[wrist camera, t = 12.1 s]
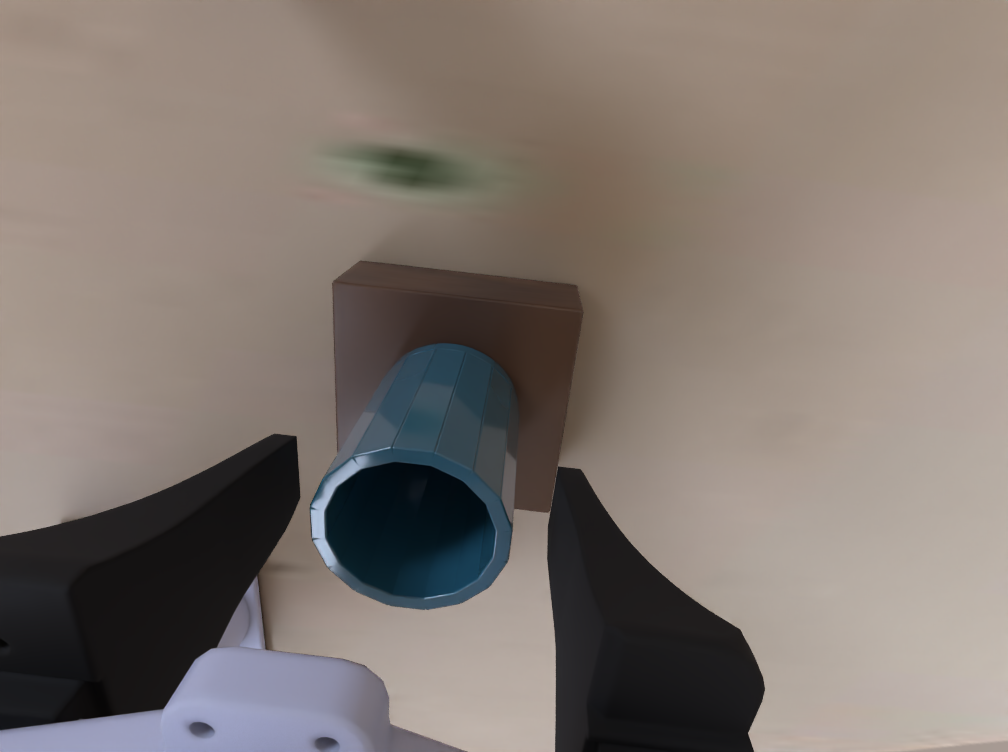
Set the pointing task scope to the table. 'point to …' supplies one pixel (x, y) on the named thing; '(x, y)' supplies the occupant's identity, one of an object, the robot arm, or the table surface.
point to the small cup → (424, 483)
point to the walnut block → (469, 322)
